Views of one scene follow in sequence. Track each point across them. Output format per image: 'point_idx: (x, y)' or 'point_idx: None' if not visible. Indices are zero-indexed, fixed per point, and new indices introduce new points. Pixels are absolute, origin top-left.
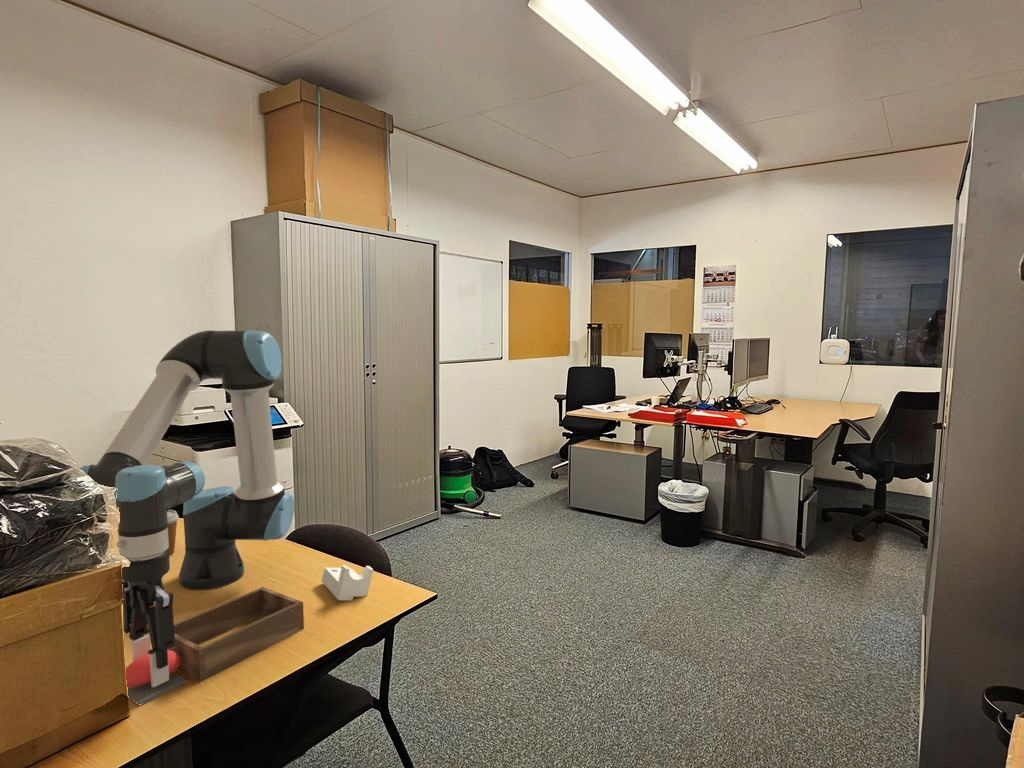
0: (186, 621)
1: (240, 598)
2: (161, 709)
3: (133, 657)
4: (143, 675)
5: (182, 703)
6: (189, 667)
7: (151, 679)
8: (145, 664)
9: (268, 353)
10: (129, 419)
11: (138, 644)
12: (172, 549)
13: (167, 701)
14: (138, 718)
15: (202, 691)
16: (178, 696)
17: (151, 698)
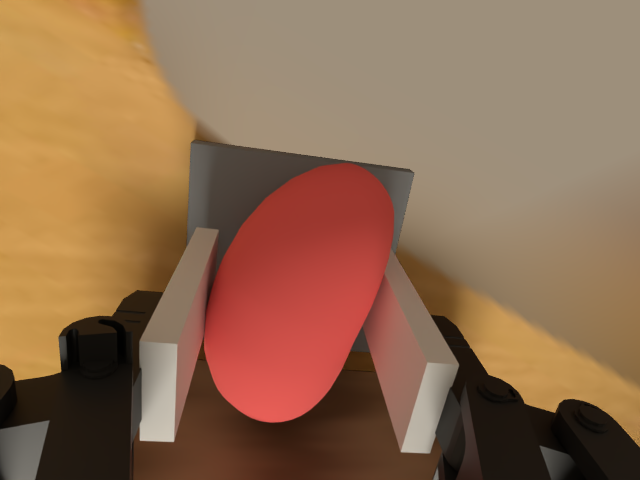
0: None
1: None
2: (76, 166)
3: (410, 296)
4: (240, 233)
5: (41, 235)
6: (211, 387)
7: (207, 244)
8: (252, 280)
9: None
10: None
11: (411, 368)
12: None
13: (117, 216)
14: (97, 72)
15: (59, 321)
16: (113, 258)
17: (190, 193)
